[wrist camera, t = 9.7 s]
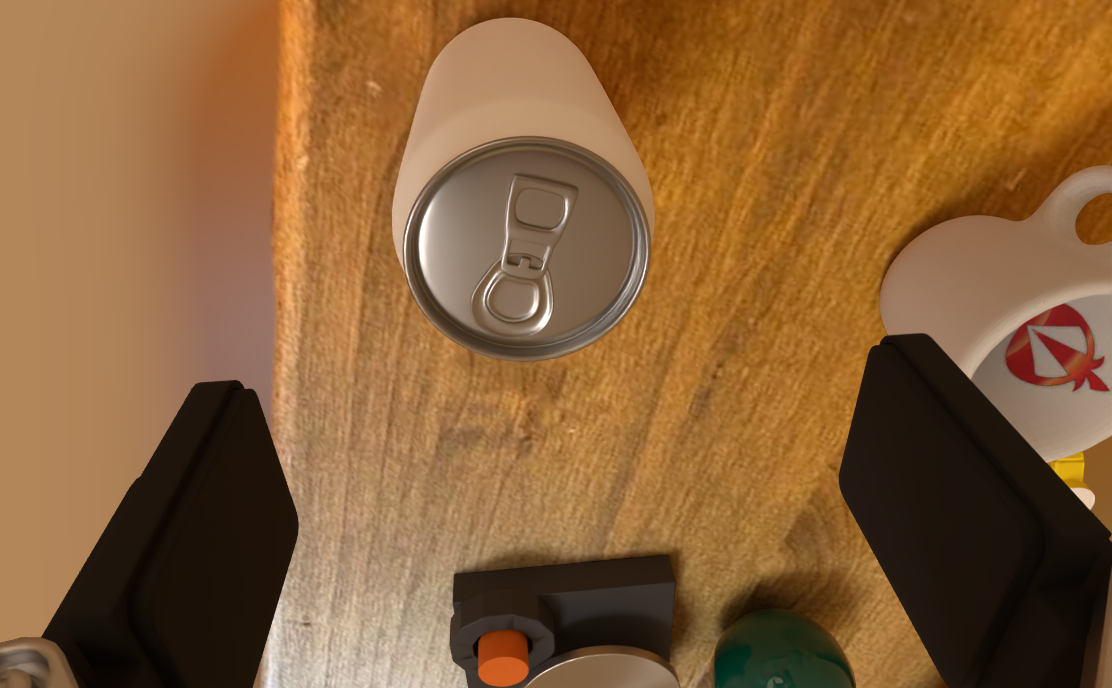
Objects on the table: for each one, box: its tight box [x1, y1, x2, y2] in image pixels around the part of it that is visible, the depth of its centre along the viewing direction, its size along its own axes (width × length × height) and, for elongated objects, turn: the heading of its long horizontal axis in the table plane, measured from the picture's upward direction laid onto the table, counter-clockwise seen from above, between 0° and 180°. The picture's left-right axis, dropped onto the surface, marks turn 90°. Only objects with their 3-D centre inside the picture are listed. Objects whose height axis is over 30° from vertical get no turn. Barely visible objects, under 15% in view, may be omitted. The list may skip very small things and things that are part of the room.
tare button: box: [478, 629, 529, 687], centre depth 38 cm, size 3×3×2 cm
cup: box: [880, 165, 1112, 463], centre depth 28 cm, size 11×8×8 cm
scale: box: [450, 555, 676, 688], centre depth 42 cm, size 12×13×4 cm
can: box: [392, 18, 655, 362], centre depth 21 cm, size 6×6×12 cm
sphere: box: [710, 608, 856, 688], centre depth 41 cm, size 8×8×8 cm
